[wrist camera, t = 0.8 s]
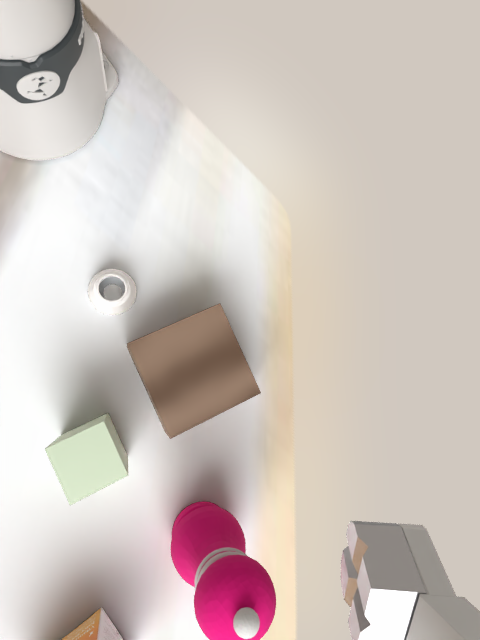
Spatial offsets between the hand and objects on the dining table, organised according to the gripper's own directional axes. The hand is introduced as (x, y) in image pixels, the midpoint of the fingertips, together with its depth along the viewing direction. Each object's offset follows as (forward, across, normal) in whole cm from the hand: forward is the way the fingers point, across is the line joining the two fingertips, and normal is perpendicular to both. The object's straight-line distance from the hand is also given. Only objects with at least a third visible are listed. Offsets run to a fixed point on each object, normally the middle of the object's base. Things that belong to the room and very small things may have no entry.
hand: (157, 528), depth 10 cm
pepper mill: (+30, +1, +32) cm, 44 cm away
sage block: (+32, +13, +23) cm, 41 cm away
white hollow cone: (+40, +13, +9) cm, 43 cm away
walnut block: (+38, +4, +17) cm, 42 cm away
